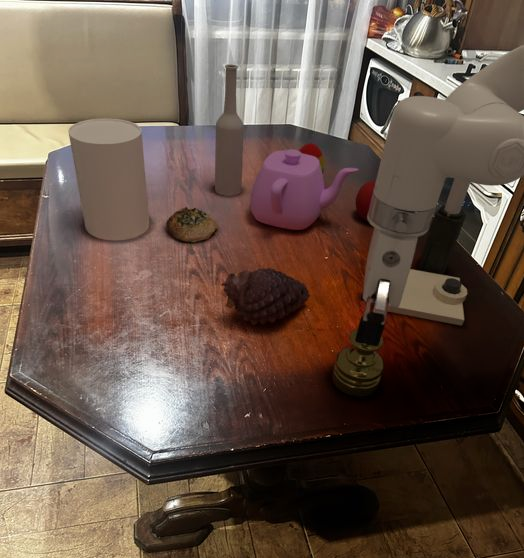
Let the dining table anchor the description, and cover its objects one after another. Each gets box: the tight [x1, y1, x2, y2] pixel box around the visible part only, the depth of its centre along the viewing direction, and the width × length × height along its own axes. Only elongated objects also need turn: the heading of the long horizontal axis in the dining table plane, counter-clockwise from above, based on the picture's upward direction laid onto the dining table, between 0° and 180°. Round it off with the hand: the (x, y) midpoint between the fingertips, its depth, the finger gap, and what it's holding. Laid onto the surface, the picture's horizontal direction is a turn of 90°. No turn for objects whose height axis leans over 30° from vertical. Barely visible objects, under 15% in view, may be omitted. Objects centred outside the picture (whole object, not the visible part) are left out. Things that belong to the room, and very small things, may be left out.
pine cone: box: [220, 267, 311, 325], centre depth 89 cm, size 18×10×10 cm
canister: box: [67, 117, 150, 241], centre depth 105 cm, size 14×14×20 cm
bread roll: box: [165, 206, 219, 243], centre depth 111 cm, size 11×11×5 cm
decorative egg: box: [298, 142, 325, 175], centre depth 131 cm, size 8×8×10 cm
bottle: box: [214, 63, 245, 197], centre depth 119 cm, size 7×7×28 cm
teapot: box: [249, 148, 359, 231], centre depth 113 cm, size 23×21×15 cm
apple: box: [355, 180, 376, 223], centre depth 119 cm, size 9×9×10 cm
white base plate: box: [387, 268, 468, 326], centre depth 99 cm, size 16×14×3 cm
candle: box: [416, 178, 472, 275], centre depth 99 cm, size 5×5×25 cm
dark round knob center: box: [443, 278, 463, 294], centre depth 97 cm, size 3×3×2 cm
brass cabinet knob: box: [331, 327, 385, 397], centre depth 78 cm, size 7×7×10 cm
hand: (368, 321), depth 73 cm, fingers open, 9 cm apart
